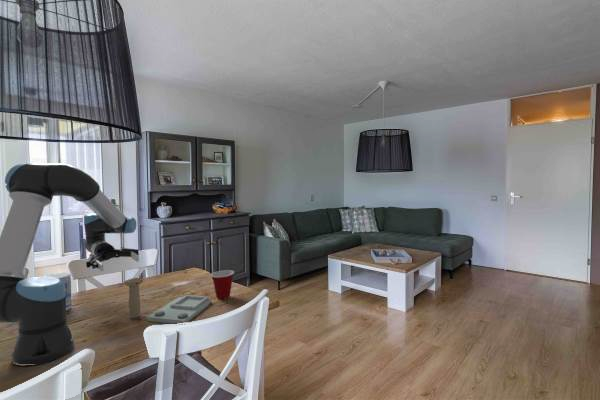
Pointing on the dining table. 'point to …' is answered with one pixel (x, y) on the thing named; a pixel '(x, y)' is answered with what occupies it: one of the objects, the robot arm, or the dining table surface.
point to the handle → (134, 296)
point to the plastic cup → (222, 283)
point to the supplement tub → (67, 281)
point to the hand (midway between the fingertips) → (120, 263)
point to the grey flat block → (180, 309)
